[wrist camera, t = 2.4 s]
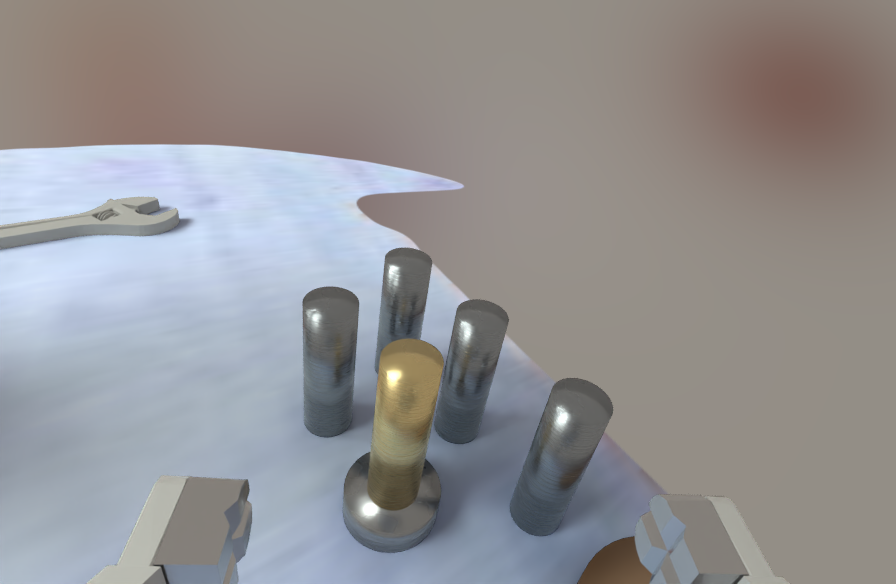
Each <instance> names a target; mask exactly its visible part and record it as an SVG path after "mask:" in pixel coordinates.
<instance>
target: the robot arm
mask: <svg viewBox="0 0 896 584" xmlns="http://www.w3.org/2000/svg"><path fill="white" fill-rule="evenodd" d="M249 490H250V489H249V483H248V479H228V478H206V477H192V476H164V475H161V477H160V478H159V479H158V480H157V482H156V483H155V484H154V486H153V488H152V490H151V492H150V494H149V496H148V499H147V501H146V503H145V505H144V507H143V509H142V512H141V514H140V516H139V518H138V520H137V522H136V525H135V527H134V529H133V531H132V533H131V535H130V538H129V540H128V542H127V544H126V546H125V548H124V551H123V553H122V555H121V557H120V559H119V561H118V564H117V565H107V566H106V567H105V568H104V569H103V570H101V571H100V572H99V573H98V574H97V575H96V576H94V577H93V578H92V579H91V580H90V581H89V582H87V583H86V584H237V583H238V580H239V579H238V572H237V565H236V563H237V562H238V561H239V560H240V559H241V558H242V557H243V556H244V555H245V553H246V549H247V545H248V541H249V536H250V530H251V524H252V506H251V503H249V502H248V501H247V498H248V494H249ZM649 507H650V509H651V511H649V512H647V513H646V514H644V515H642V516H641V517H640V519H639V520H638V522H637V524H636V527H635V544H636V550H637V553H638V556H639V559H640V562H641V563H642V564H643V565H644V566H645V567H646V568H647V569H648V570H649V571H650V572H651V573H652V575H651V579H650V583H649V584H790V583H789V582H788V581H787V580H785V579H784V578H783V577H781V576H775V575H774V573H773V571H772V569H771V568H770V566H769V564H768V562H767V561H766V559H765V557H764V556H763V553H762V552H761V550H760V548H759V546H758V544H757V543H756V541H755V539H754V537H753V536H752V534H751V532H750V530H749V528H748V527H747V525H746V523H745V521H744V520H743V518H742V516H741V514H740V513H739V511H738V509H737V507H736V505H735V504H734V502H732V501H731V500H730V499H729V498H728V497H723V496H701V495H670V494H658V495H656V496H653V497H652V499H651V501H650V502H649Z"/></svg>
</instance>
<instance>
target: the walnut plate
mask: <svg viewBox="0 0 896 584" xmlns="http://www.w3.org/2000/svg"><path fill="white" fill-rule="evenodd" d="M651 575H652V573H651V572H650V571H649V570H648V569H647V568H646V567H645V566H644V565H643V564H642V563H641V562H640V559H639V556H638V553H637V550H636V544H635V536H633V537H628V538H623V539H620V540H617V541H615V542H612V543H611V544H609V545H607V546H605V547H604V548H603V549H601V550H600V551H599V552H598V553H597V554H596V555H595V556H594V557H593V558H592V560H591V561H590V562H589V564H588V565H587V567H586V569H585V571H584V572H583V574H582V576H581V577H580V579H579V581H578V583H577V584H649V583H650V579H651Z"/></svg>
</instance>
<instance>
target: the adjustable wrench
mask: <svg viewBox="0 0 896 584" xmlns="http://www.w3.org/2000/svg"><path fill="white" fill-rule="evenodd" d="M158 210H160V207H159V202H158V199H157V198H155V197H131V198H123V199H117V200H113V199H109V200H108V201H107V202H106V203H105V204H103V205H102V206H99V207H97V208H95V209H93V210H91V211H88V212H85V213H80V214H76V215H71V216H64V217H57V218H50V219H43V220H36V221H28V222H21V223H14V224H7V225H0V249H5V248H11V247H17V246H23V245H29V244H35V243H41V242H47V241H53V240H59V239H65V238H71V237H78V236H87V235H127V236H150V235H157V234H161V233H164V232H167V231H169V230H171V229H173V228H174V227H176V226H177V225H178V223H179V222H180V220H179V214H178V210H177V209H176V208H175V209H172V210H170V211H167V212H164V213H161V214H159V215H156V216H153V215H146V214H149V213H152V212H155V211H158Z"/></svg>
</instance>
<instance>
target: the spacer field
mask: <svg viewBox="0 0 896 584" xmlns="http://www.w3.org/2000/svg"><path fill="white" fill-rule="evenodd" d="M431 267H432V260H431V258H430V257H429V256H428V255H427V254H426V253H424V252H422V251H420V250H417V249H413V248H397V249H393V250H391V251H389V252H388V253H387V254H386V256H385V264H384V275H383V285H382V296H381V307H380V317H379V328H378V338H377V349H376V359H375V370H376V372H377V374H378V373H379V364H380V355H381V352H382V350H383V349H384V348H385V347H386V346H387V345H388V344H390V343H391V342H393V341H396V340H400V339H417V340H420V338H421V331H422V325H423V319H424V312H425V306H426V299H427V293H428V287H429V280H430V274H431ZM358 313H359V300H358V298H357V297H356V295H355V294H353V293H352V292H350V291H348V290H346V289H343V288H339V287H322V288H317V289H315V290H312V291H311V292H309V293H308V294H307V295H306V296H305V297H304V299H303V373H304V423H305V426H306V428H307V429H308V430H309V431H310V432H311V433H313V434H315V435H317V436H321V437H332V436H336V435H339V434H341V433H343V432H344V431H345V430H346V429H347V428H348V427H349V425H350V423H351V420H352V404H353V389H354V374H355V359H356V343H357V328H358ZM508 322H509V319H508V315H507V313H506V312H505V311H504V310H503V309H502V308H501V307H500V306H498V305H496V304H494V303H492V302H489V301H485V300H468V301H465V302H463V303H461V304H460V305H459V306H458V308H457V311H456V316H455V321H454V326H453V331H452V336H451V341H450V346H449V351H448V356H447V361H446V366H445V371H444V376H443V381H442V386H441V391H440V396H439V401H438V406H437V411H436V416H435V421H434V426H435V429H436V431H437V433H438V434H439V436H441V437H442V438H443V439H444V440H446V441H448V442H451V443H455V444H464V443H468V442H470V441H472V440H473V439H474V438H475V437H476V436H477V434H478V431H479V427H480V424H481V420H482V416H483V413H484V409H485V405H486V402H487V398H488V394H489V391H490V387H491V384H492V380H493V376H494V373H495V369H496V365H497V362H498V358H499V354H500V351H501V347H502V344H503V340H504V336H505V332H506V329H507V325H508ZM612 413H613V406H612V402H611V400H610V398H609V397H608V395H607V394H606V393H605V392H604V391H603V390H602V389H600V388H599V387H598V386H596V385H594V384H593V383H590V382H588V381H586V380H582V379H578V378H566V379H562V380H560V381H558V382H557V383H556V384H555V385H554V386H553V388H552V391H551V394H550V396H549V399H548V402H547V404H546V407H545V410H544V412H543V415H542V418H541V421H540V423H539V426H538V429H537V431H536V434H535V437H534V439H533V442H532V445H531V448H530V450H529V453H528V456H527V458H526V461H525V464H524V466H523V469H522V472H521V475H520V477H519V480H518V483H517V485H516V488H515V491H514V493H513V496H512V499H511V502H510V513H511V516H512V518H513V520H514V521H515V523H516V524H517V525H518V526H519V527H520V528H521V529H522V530H523V531H525V532H527V533H529V534H532V535H535V536H546V535H549V534H551V533H553V532H554V531H555V530H556V529H557V528H558V526H559V524H560V522H561V520H562V518H563V516H564V514H565V511H566V509H567V507H568V505H569V503H570V501H571V499H572V497H573V495H574V493H575V491H576V489H577V487H578V485H579V482H580V480H581V478H582V476H583V474H584V472H585V470H586V468H587V466H588V464H589V462H590V460H591V458H592V455H593V453H594V451H595V449H596V447H597V445H598V443H599V441H600V439H601V437H602V435H603V433H604V431H605V428H606V426H607V424H608V422H609V420H610V418H611V416H612Z"/></svg>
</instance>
